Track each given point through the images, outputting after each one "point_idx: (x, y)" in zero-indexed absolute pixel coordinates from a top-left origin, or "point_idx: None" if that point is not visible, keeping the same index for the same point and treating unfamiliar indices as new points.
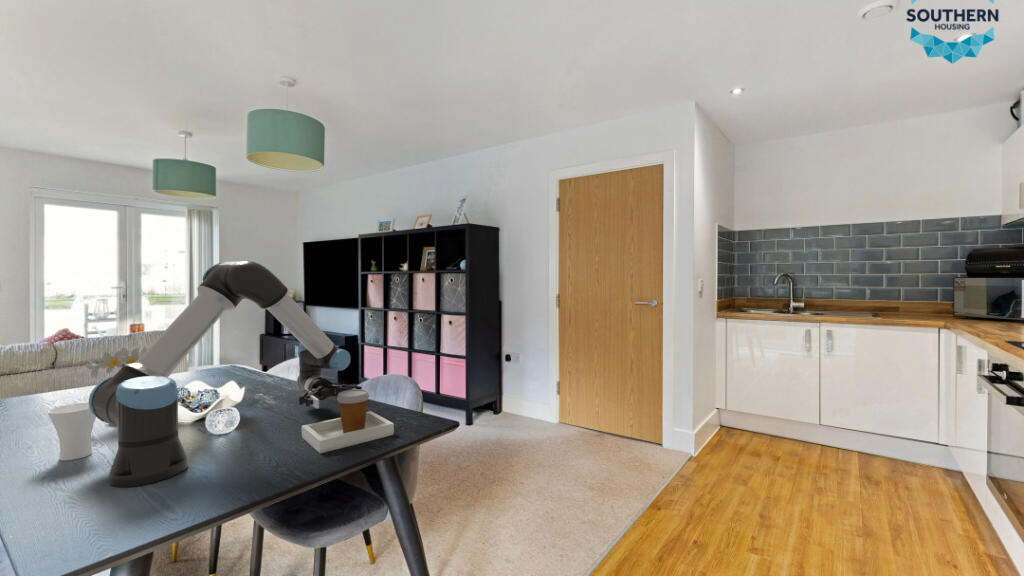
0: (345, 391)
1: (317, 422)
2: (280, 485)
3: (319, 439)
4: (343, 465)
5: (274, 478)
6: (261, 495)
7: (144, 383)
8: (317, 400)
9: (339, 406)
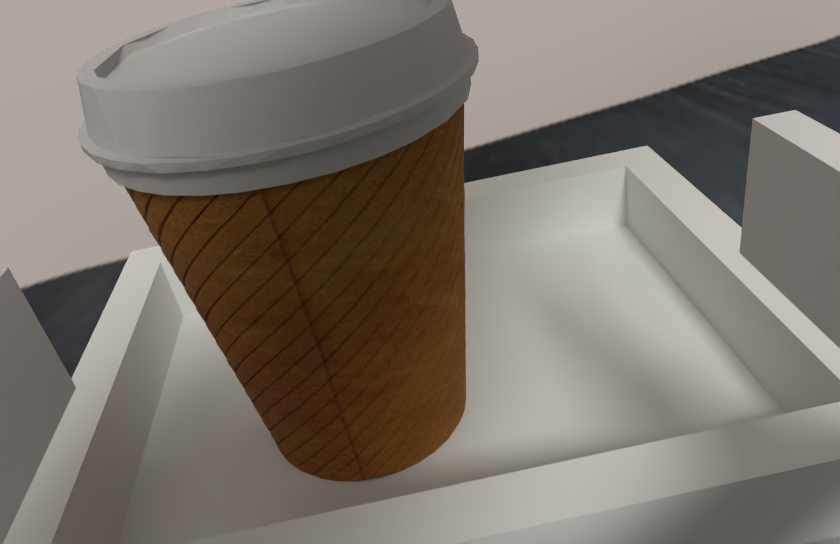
0: (309, 64)
1: (760, 474)
2: (764, 79)
3: (652, 157)
4: (531, 135)
5: (816, 103)
6: (810, 55)
7: None
8: (775, 124)
9: (463, 145)
